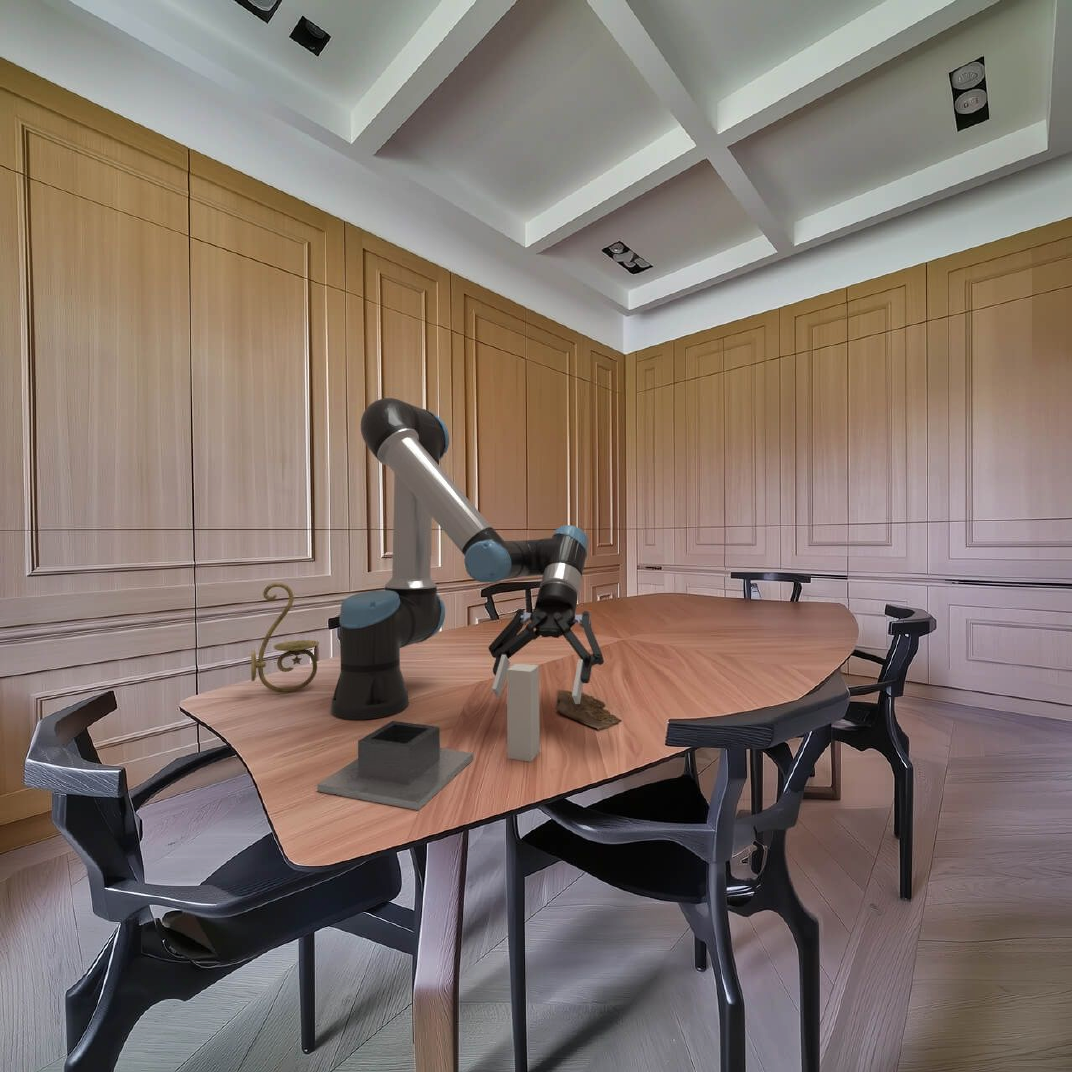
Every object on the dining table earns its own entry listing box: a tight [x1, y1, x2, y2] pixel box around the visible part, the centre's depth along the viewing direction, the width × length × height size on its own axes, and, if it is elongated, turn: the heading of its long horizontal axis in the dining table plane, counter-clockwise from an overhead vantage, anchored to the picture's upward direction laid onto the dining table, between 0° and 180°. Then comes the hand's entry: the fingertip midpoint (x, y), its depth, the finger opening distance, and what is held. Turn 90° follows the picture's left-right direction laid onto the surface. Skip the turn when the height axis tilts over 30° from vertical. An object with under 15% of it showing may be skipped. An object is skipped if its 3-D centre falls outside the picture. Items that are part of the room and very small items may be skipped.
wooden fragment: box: [556, 689, 623, 732], centre depth 105 cm, size 26×11×1 cm, turn 11°
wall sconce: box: [250, 582, 320, 693], centre depth 117 cm, size 14×10×25 cm
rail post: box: [506, 663, 541, 763], centre depth 83 cm, size 4×4×14 cm
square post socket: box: [316, 720, 474, 811], centre depth 76 cm, size 16×16×6 cm
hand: (535, 696), depth 84 cm, fingers open, 13 cm apart
